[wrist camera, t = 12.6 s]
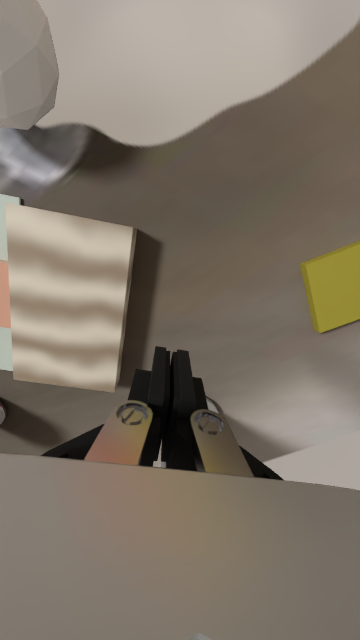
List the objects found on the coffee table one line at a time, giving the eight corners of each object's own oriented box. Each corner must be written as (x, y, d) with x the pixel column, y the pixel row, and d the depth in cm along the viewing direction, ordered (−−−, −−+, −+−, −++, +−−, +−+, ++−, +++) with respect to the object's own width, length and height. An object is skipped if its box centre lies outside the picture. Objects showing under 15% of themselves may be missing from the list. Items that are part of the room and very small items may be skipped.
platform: (119, 378, 43) (114, 392, 39) (27, 366, 41) (13, 379, 38) (137, 228, 35) (133, 227, 31) (24, 206, 33) (5, 202, 29)
